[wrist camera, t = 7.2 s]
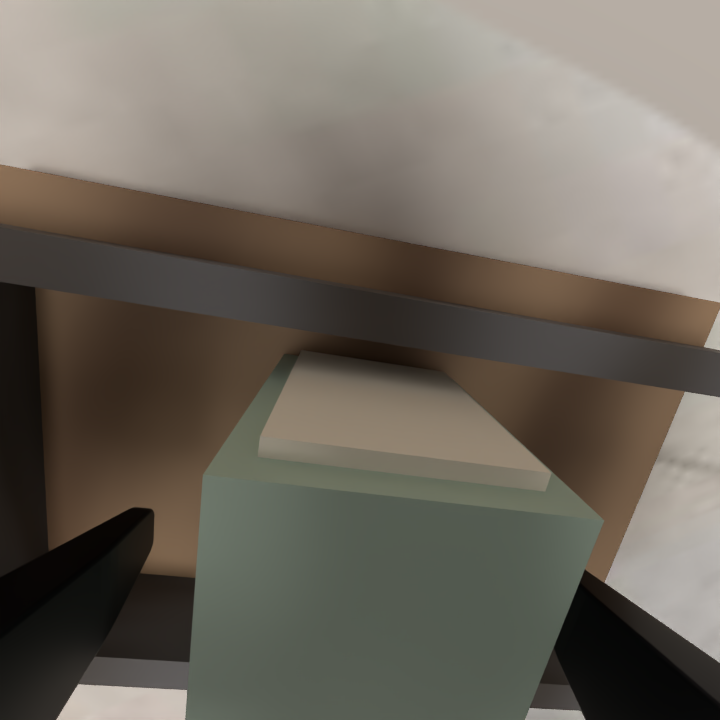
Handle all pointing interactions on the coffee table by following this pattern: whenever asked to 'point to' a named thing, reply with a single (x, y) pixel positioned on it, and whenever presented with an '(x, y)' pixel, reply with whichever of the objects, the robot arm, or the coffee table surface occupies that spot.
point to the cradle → (263, 352)
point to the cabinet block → (378, 553)
